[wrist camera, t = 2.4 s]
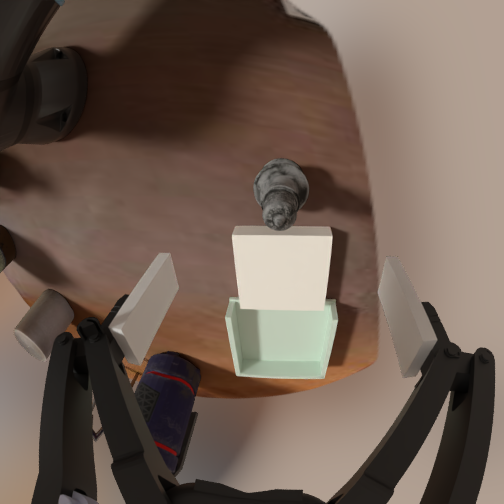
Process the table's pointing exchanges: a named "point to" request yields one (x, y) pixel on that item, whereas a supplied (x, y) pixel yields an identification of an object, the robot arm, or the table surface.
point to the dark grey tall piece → (280, 193)
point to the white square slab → (282, 267)
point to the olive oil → (6, 248)
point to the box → (281, 341)
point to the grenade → (169, 405)
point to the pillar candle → (44, 324)
